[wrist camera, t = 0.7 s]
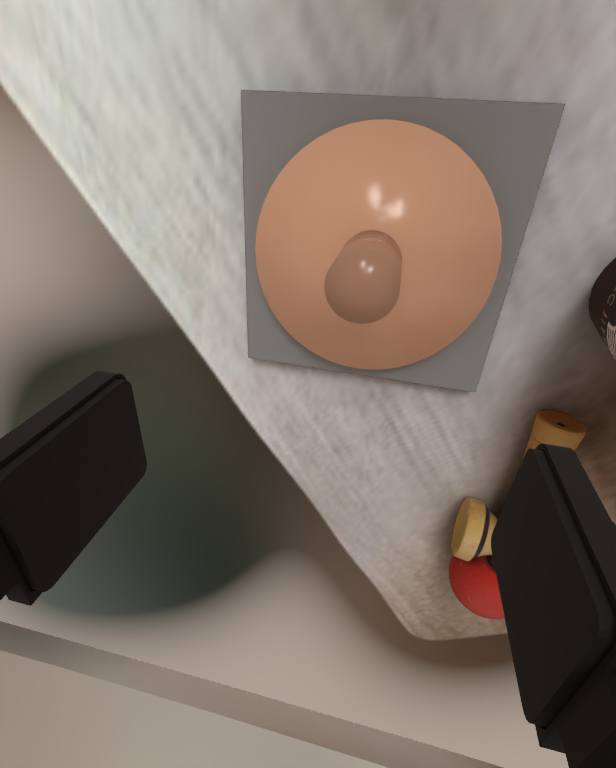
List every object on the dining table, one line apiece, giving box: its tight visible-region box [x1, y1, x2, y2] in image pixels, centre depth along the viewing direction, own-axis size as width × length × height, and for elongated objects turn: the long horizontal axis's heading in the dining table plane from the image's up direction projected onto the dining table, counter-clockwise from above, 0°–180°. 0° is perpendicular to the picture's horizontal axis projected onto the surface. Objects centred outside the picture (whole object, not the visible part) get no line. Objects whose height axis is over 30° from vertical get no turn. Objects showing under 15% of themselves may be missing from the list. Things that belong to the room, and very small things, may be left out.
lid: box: [255, 119, 502, 370], centre depth 22 cm, size 14×14×6 cm
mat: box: [241, 90, 565, 392], centre depth 25 cm, size 16×16×1 cm
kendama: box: [449, 410, 587, 619], centre depth 31 cm, size 8×6×18 cm
